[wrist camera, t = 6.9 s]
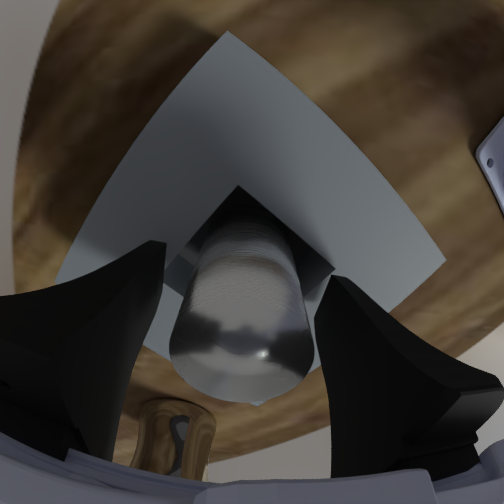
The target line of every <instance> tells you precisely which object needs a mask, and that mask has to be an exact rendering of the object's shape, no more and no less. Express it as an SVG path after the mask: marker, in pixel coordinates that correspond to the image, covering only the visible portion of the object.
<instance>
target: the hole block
mask: <svg viewBox="0 0 504 504" xmlns="http://www.w3.org/2000/svg"><path fill="white" fill-rule="evenodd" d="M241 204H252V205H258V206H261V207H264V208H266V209H268V210H269V211H270V212H272V213H273V214H274V215H275V216H276V217H277V218H279V219H280V220H281V221H282V223H283V225H284V226H285V229H286V231H287V235H288V239H289V243H290V246H291V250H292V254H293V258H294V262H295V266H296V270H297V274H298V278H299V282H300V286H301V291H302V295H303V299H304V303H305V307H306V311H307V316H308V320H309V324H310V329H311V333H312V337H313V342H314V346H315V355H314V361H313V364H312V367H311V369H310V370H309V372H308V373H310V372H311V371H313V370H314V369H316V368H317V367H318V366H320V365H321V362H320V358H319V353H318V349H317V344H316V339H315V329H314V316H315V313H316V311H317V309H318V306H319V304H320V301H321V299H322V296H323V294H324V292H325V289H326V287H327V284H328V282H329V279H330V277H331V274H332V275H337V276H343V277H347V278H348V279H350V280H351V281H352V282H354V283H355V284H356V285H357V286H358V287H360V288H361V289H362V290H363V291H364V292H365V293H366V294H367V295H368V296H370V297H371V298H372V299H373V300H374V301H375V302H376V303H377V304H378V305H379V306H381V307H382V308H383V309H384V310H385V311H386V312H387V313H389V312H390V311H391V310H392V309H393V308H395V307H396V306H397V305H398V304H399V303H400V302H402V301H403V300H404V299H405V298H406V297H407V296H408V295H410V294H411V293H412V292H413V291H414V290H415V289H416V288H417V287H418V286H420V285H421V284H422V283H423V282H424V281H425V280H426V279H427V278H428V277H429V276H430V275H431V274H433V273H434V272H435V271H436V270H437V269H438V268H439V267H440V266H441V265H442V264H443V263H444V262H445V261H446V259H445V257H444V256H443V254H442V253H441V251H440V250H439V248H438V247H437V245H436V244H435V243H434V241H433V240H432V238H431V237H430V236H429V234H428V233H427V231H426V230H425V229H424V227H423V226H422V225H421V223H420V222H419V221H418V219H417V218H416V217H415V215H414V214H413V213H412V211H411V210H410V209H409V207H408V206H407V205H406V204H405V202H404V201H403V200H402V199H401V197H400V196H399V195H398V194H397V192H396V191H395V190H394V189H393V187H392V186H391V185H390V184H389V183H388V181H387V180H386V179H385V178H384V177H383V175H382V174H381V173H380V172H379V171H378V170H377V168H376V167H375V166H374V165H373V164H372V163H371V162H370V161H369V159H368V158H367V157H366V156H365V155H364V154H363V153H362V152H361V151H360V149H359V148H358V147H357V146H356V145H355V144H354V143H353V142H352V141H351V140H350V139H349V138H348V137H347V136H346V134H345V133H344V132H343V131H342V130H341V129H340V128H339V127H338V126H337V125H336V124H335V123H334V122H333V121H332V120H331V119H330V118H329V117H328V116H327V115H326V114H325V113H324V112H323V111H322V110H321V109H320V108H319V107H318V106H316V105H315V104H314V103H313V102H312V101H311V100H310V99H309V98H308V97H307V96H306V95H305V94H304V93H303V92H302V91H300V90H299V89H298V88H297V87H296V86H295V85H294V84H293V83H292V82H290V81H289V80H288V79H287V78H286V77H285V76H284V75H282V74H281V73H280V72H279V71H278V70H277V69H275V68H274V67H273V66H272V65H271V64H269V63H268V62H267V61H266V60H265V59H263V58H262V57H261V56H260V55H258V54H257V53H256V52H255V51H253V50H252V49H251V48H250V47H248V46H247V45H246V44H244V43H243V42H242V41H240V40H239V39H238V38H236V37H235V36H234V35H232V34H231V33H230V32H228V31H226V32H225V33H224V34H223V36H222V37H221V38H220V39H219V40H218V41H217V42H216V43H215V44H214V45H213V46H212V47H211V48H210V49H209V50H208V51H207V52H206V53H205V54H204V56H203V57H202V58H201V59H200V60H199V61H198V62H197V63H196V64H195V66H194V67H193V68H192V69H191V70H190V71H189V72H188V74H187V75H186V76H185V77H184V78H183V79H182V81H181V82H180V83H179V84H178V85H177V87H176V88H175V89H174V90H173V91H172V93H171V94H170V95H169V96H168V98H167V99H166V100H165V101H164V103H163V104H162V105H161V106H160V108H159V109H158V110H157V112H156V113H155V114H154V115H153V117H152V118H151V119H150V121H149V122H148V123H147V125H146V126H145V128H144V129H143V130H142V132H141V133H140V134H139V136H138V137H137V139H136V140H135V142H134V143H133V144H132V146H131V147H130V149H129V150H128V152H127V153H126V155H125V156H124V158H123V159H122V161H121V162H120V164H119V165H118V167H117V168H116V170H115V171H114V173H113V174H112V176H111V178H110V179H109V181H108V182H107V184H106V186H105V187H104V189H103V190H102V192H101V194H100V195H99V197H98V199H97V200H96V202H95V204H94V206H93V207H92V209H91V211H90V213H89V214H88V216H87V218H86V220H85V221H84V223H83V225H82V227H81V229H80V231H79V233H78V234H77V236H76V238H75V240H74V242H73V244H72V246H71V248H70V250H69V252H68V254H67V256H66V258H65V260H64V262H63V264H62V266H61V268H60V270H59V273H58V275H57V277H56V279H55V281H54V282H55V283H57V284H61V283H64V282H68V281H70V280H73V279H76V278H78V277H81V276H83V275H86V274H88V273H90V272H93V271H95V270H97V269H99V268H101V267H103V266H105V265H106V264H108V263H110V262H112V261H114V260H116V259H118V258H120V257H121V256H123V255H125V254H127V253H128V252H130V251H132V250H133V249H135V248H137V247H138V246H140V245H142V244H143V243H145V242H147V241H149V240H154V241H159V242H164V243H167V248H166V258H165V268H164V280H163V291H162V295H161V298H160V302H159V305H158V308H157V312H156V314H155V317H154V319H153V321H152V324H151V326H150V328H149V331H148V333H147V335H146V337H145V340H144V342H143V345H145V346H146V347H148V348H149V349H151V350H153V351H154V352H156V353H158V354H159V355H161V356H163V357H164V358H166V359H168V360H169V361H171V358H170V354H169V341H170V337H171V334H172V331H173V328H174V325H175V322H176V319H177V316H178V313H179V310H180V307H181V304H182V301H183V298H184V295H185V292H186V289H187V286H188V284H189V281H190V278H191V275H192V272H193V269H194V267H195V264H196V261H197V258H198V255H199V253H200V250H201V247H202V245H203V242H204V239H205V236H206V234H207V231H208V228H209V226H210V224H211V223H212V221H213V220H214V219H215V217H216V216H217V215H218V214H220V213H221V212H222V211H224V210H226V209H228V208H230V207H232V206H236V205H241ZM171 362H172V361H171ZM267 400H268V399H267ZM267 400H263V401H257V402H248V403H251V404H253V405H255V406H259V405H260V404H262V403H264V402H265V401H267Z"/></svg>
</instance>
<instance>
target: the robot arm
mask: <svg viewBox="0 0 504 504" xmlns="http://www.w3.org/2000/svg"><path fill="white" fill-rule="evenodd" d="M476 158H477V161H478V163H479V165H480V166H481V168H482V170H483V172H484V174H485V176H486V178H487V180H488V182H489V184H490V186H491V188H492V190H493V192H494V194H495V196H496V198H497V201H498V203H499V205H500V207H501V210H502V212H503V214H504V117H503V118H502V119H501V120H500V121H499V123H498V124H497V125H496V126H495V127H494V129H493V130H492V131H491V132H490V133H489V135H488V136H487V137H486V138H485V139H484V141H483V142H482V143H481V144H480V145H479V146H478V148H477V150H476ZM488 159H489V163H488V165H487V161H488ZM166 248H167V243H164V242H159V241H154V240H149V241H147V242H145V243H143V244H142V245H140V246H138V247H137V248H135V249H133V250H132V251H130V252H128V253H127V254H125V255H123V256H121V257H120V258H118V259H116V260H114V261H112V262H110V263H108V264H106V265H105V266H103V267H101V268H99V269H97V270H95V271H93V272H90V273H88V274H86V275H83V276H81V277H78V278H76V279H73V280H70V281H68V282H64V283H61V284H58V285H54V286H51V287H48V288H44V289H40V290H36V291H31V292H26V293H21V294H15V295H7V296H0V504H504V439H503V440H500V441H497V442H496V443H493V444H492V445H490V446H489V447H488V448H487V449H485V450H484V451H483V452H482V453H481V454H480V455H479V456H478V454H477V451H476V449H475V447H474V443H476V442H477V441H478V436H477V434H476V431H477V430H478V429H479V428H480V427H481V426H482V425H483V424H484V423H485V422H486V421H487V420H488V419H489V418H490V417H491V416H492V415H493V414H494V413H495V412H496V410H497V409H498V408H499V407H500V405H501V404H502V402H503V400H504V387H503V386H502V384H501V382H500V381H499V379H498V378H497V377H496V376H495V375H493V374H490V373H487V372H485V371H482V370H479V369H477V368H474V367H471V366H469V365H467V364H465V363H463V362H461V361H458V360H456V359H454V358H453V357H451V356H449V355H447V354H445V353H443V352H442V351H440V350H438V349H436V348H435V347H433V346H431V345H430V344H428V343H427V342H425V341H424V340H422V339H421V338H419V337H418V336H417V335H415V334H414V333H412V332H411V331H409V330H408V329H407V328H406V327H404V326H403V325H402V324H400V323H399V322H398V321H397V320H396V319H394V318H393V317H392V316H391V315H390V314H389V313H387V312H386V311H385V310H384V309H383V308H382V307H381V306H379V305H378V304H377V303H376V302H375V301H374V300H373V299H372V298H371V297H370V296H368V295H367V294H366V293H365V292H364V291H363V290H362V289H361V288H360V287H358V286H357V285H356V284H355V283H354V282H352V281H351V280H350V279H348V278H347V277H343V276H337V275H332V274H331V277H330V279H329V282H328V284H327V287H326V289H325V292H324V294H323V296H322V299H321V301H320V304H319V306H318V309H317V311H316V313H315V316H314V329H315V339H316V344H317V349H318V353H319V358H320V362H321V366H322V370H323V374H324V379H325V383H326V387H327V393H328V399H329V409H330V421H331V445H332V448H331V449H332V450H331V478H330V479H329V478H328V479H300V480H299V479H298V480H297V479H293V480H289V479H271V480H239V481H233V482H228V483H222V484H220V483H211V482H204V481H196V480H190V479H184V478H178V477H172V476H167V475H162V474H157V473H153V472H148V471H144V470H140V469H136V468H132V467H128V466H124V465H120V464H117V463H113V462H112V459H113V452H114V446H115V440H116V435H117V430H118V425H119V420H120V415H121V411H122V407H123V403H124V399H125V395H126V391H127V387H128V383H129V380H130V376H131V372H132V369H133V366H134V364H135V361H136V358H137V356H138V354H139V351H140V349H141V347H142V344H143V342H144V340H145V337H146V335H147V333H148V331H149V328H150V326H151V324H152V321H153V319H154V317H155V314H156V312H157V308H158V305H159V302H160V298H161V295H162V291H163V280H164V268H165V258H166Z"/></svg>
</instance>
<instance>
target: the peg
mask: <svg viewBox="0 0 504 504" xmlns="http://www.w3.org/2000/svg"><path fill="white" fill-rule="evenodd" d="M169 354H170V358H171V361H172V364H173V366H174V368H175V369H176V371H177V373H178V374H179V375H180V376H181V377H182V378H183V379H184V380H185V381H186V382H187V383H188V384H189V385H191V386H192V387H193V388H195V389H196V390H198V391H200V392H202V393H204V394H206V395H208V396H211V397H214V398H217V399H221V400H225V401H231V402H257V401H263V400H267V399H271V398H274V397H277V396H280V395H282V394H284V393H286V392H288V391H289V390H291V389H292V388H294V387H295V386H296V385H298V384H299V383H300V382H301V381H302V380H303V379H304V378H305V376H306V375H307V374H308V372H309V370H310V369H311V367H312V364H313V361H314V355H315V346H314V342H313V337H312V333H311V329H310V324H309V320H308V316H307V311H306V307H305V303H304V299H303V295H302V291H301V286H300V282H299V278H298V274H297V270H296V266H295V262H294V258H293V254H292V250H291V246H290V243H289V239H288V235H287V231H286V229H285V226H284V225H283V223H282V221H281V220H280V219H279V218H277V217H276V216H275V215H274V214H273V213H272V212H270V211H269V210H268V209H266V208H264V207H261V206H258V205H252V204H241V205H236V206H232V207H230V208H228V209H226V210H224V211H222V212H221V213H220V214H218V215H217V216H216V217H215V219H214V220H213V221H212V223H211V224H210V226H209V228H208V231H207V234H206V236H205V239H204V242H203V245H202V247H201V250H200V253H199V255H198V258H197V261H196V264H195V267H194V269H193V272H192V275H191V278H190V281H189V284H188V286H187V289H186V292H185V295H184V298H183V301H182V304H181V307H180V310H179V313H178V316H177V319H176V322H175V325H174V328H173V331H172V334H171V337H170V341H169Z"/></svg>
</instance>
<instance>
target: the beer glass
mask: <svg viewBox="0 0 504 504" xmlns="http://www.w3.org/2000/svg"><path fill="white" fill-rule="evenodd" d="M216 427H217V425H216V421H215V419H214V417H213V416H212V415H211V414H210V413H209V412H208V411H206V410H205V409H203V408H201V407H199V406H197V405H195V404H192V403H189V402H186V401H182V400H177V399H154V400H151V401H148V402H146V403H144V404H143V405H142V406H141V408H140V411H139V432H138V441H137V446H136V450H135V453H134V456H133V459H132V461H131V463H130V466H129V467H132V468H136V469H140V470H144V471H148V472H153V473H157V474H162V475H167V476H172V477H178V478H184V479H190V480H196V481H204V482H209V478H208V459H209V452H210V448H211V444H212V441H213V438H214V435H215V432H216Z"/></svg>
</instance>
